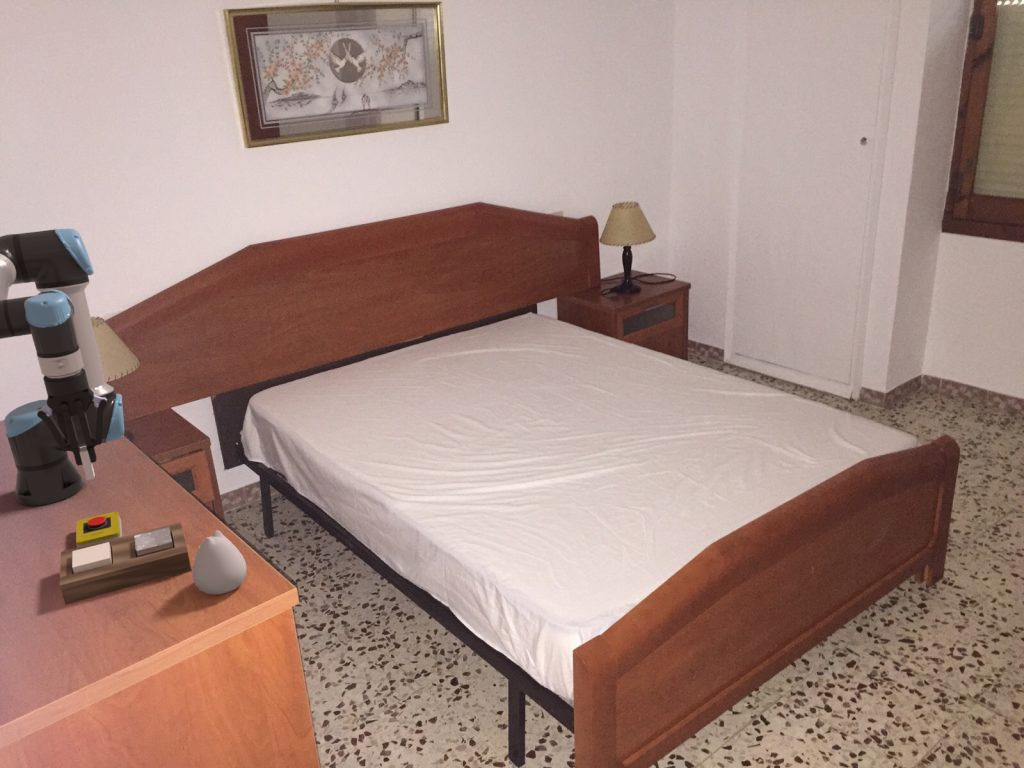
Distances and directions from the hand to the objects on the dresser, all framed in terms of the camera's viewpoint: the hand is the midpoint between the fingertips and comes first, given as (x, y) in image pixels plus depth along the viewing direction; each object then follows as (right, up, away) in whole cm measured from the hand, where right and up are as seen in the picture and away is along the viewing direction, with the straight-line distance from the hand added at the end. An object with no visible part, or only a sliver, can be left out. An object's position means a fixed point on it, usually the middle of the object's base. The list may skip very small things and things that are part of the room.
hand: (90, 476), depth 173 cm
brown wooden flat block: (+7, -20, +3) cm, 21 cm away
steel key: (+12, -17, +4) cm, 21 cm away
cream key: (+1, -19, -1) cm, 19 cm away
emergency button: (-6, -16, +16) cm, 24 cm away
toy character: (+29, -22, -4) cm, 37 cm away
